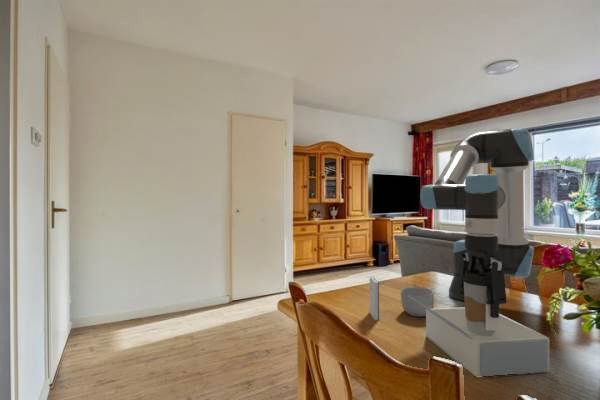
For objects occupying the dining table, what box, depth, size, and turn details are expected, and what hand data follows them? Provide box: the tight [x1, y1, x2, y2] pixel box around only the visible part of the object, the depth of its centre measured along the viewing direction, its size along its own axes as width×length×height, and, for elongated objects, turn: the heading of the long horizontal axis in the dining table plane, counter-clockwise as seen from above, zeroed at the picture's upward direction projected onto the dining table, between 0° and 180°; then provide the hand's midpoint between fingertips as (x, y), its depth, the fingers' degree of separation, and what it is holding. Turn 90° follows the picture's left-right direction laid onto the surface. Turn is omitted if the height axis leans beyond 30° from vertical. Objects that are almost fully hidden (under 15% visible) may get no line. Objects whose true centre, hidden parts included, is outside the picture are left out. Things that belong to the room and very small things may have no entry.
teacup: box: [400, 285, 435, 317], centre depth 116 cm, size 14×11×8 cm
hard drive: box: [369, 276, 380, 321], centre depth 112 cm, size 2×8×12 cm, turn 0°
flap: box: [408, 295, 473, 339], centre depth 84 cm, size 7×20×1 cm
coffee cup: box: [463, 271, 495, 336], centre depth 85 cm, size 8×8×15 cm
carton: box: [425, 306, 550, 376], centre depth 85 cm, size 19×23×8 cm
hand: (480, 323), depth 85 cm, fingers closed on coffee cup, 7 cm apart
